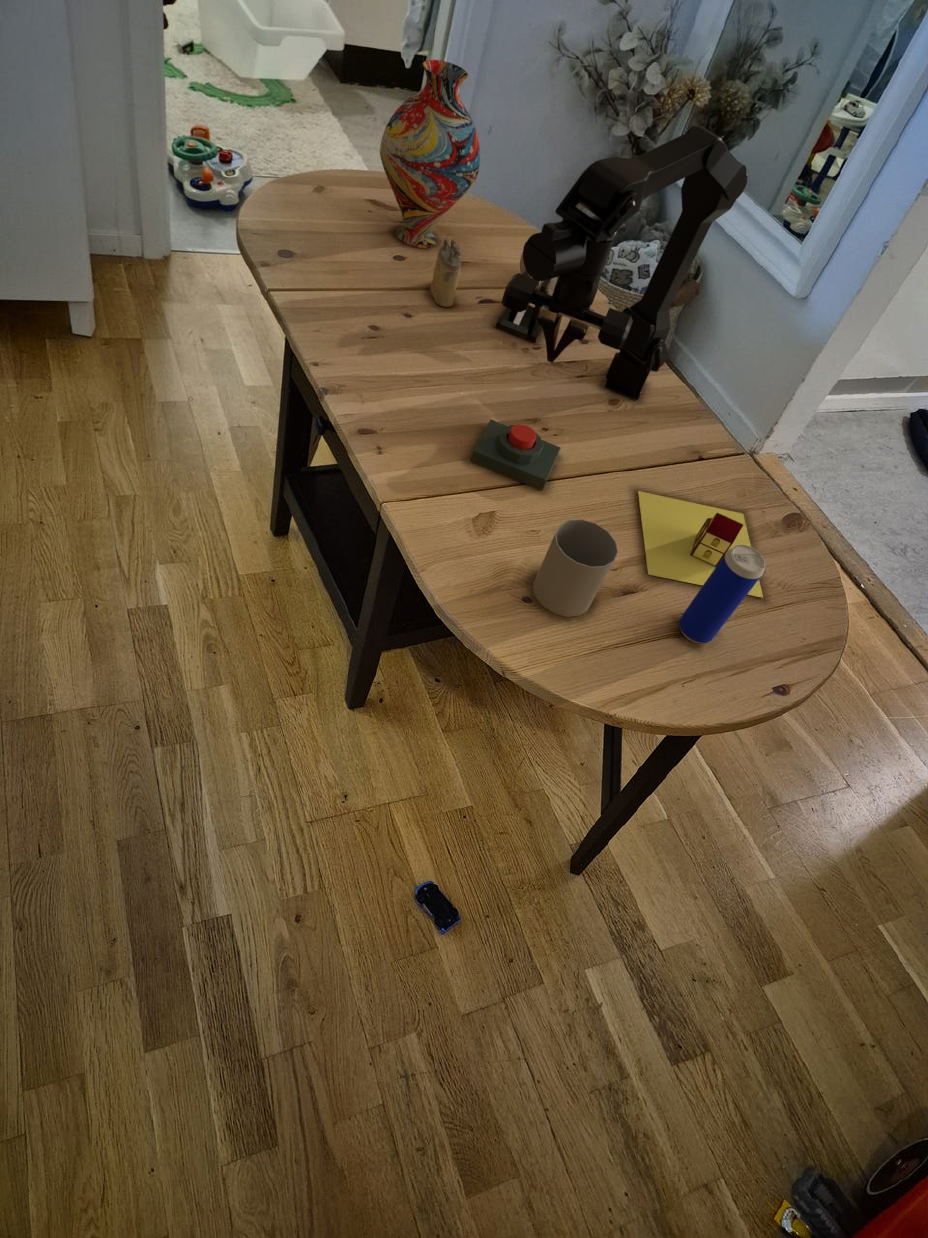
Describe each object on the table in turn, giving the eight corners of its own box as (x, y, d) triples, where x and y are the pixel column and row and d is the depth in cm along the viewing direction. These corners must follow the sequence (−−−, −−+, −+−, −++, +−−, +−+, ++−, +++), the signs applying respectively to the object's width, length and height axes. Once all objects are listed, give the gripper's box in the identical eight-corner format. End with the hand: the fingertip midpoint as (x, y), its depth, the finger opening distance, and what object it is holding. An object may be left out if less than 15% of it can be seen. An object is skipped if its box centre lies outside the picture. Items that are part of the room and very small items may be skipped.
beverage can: (707, 618, 112) (761, 545, 101) (716, 647, 109) (772, 576, 98) (674, 613, 111) (724, 540, 100) (681, 643, 108) (734, 571, 97)
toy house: (691, 563, 119) (716, 525, 112) (685, 532, 123) (709, 493, 117) (727, 571, 119) (754, 533, 113) (720, 539, 124) (746, 501, 117)
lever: (524, 340, 142) (526, 332, 140) (498, 330, 143) (500, 321, 140) (548, 290, 146) (550, 281, 144) (522, 280, 146) (524, 270, 144)
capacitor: (455, 308, 148) (467, 256, 141) (435, 307, 147) (446, 255, 139) (445, 286, 152) (456, 235, 145) (426, 285, 151) (436, 234, 143)
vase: (360, 209, 164) (380, 39, 141) (446, 216, 170) (479, 55, 147) (382, 259, 153) (407, 84, 130) (473, 264, 160) (512, 99, 137)
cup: (543, 618, 105) (567, 568, 98) (524, 571, 110) (546, 520, 102) (600, 613, 108) (627, 565, 100) (579, 568, 113) (604, 518, 105)
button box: (556, 457, 127) (564, 438, 124) (542, 491, 121) (550, 471, 118) (487, 429, 128) (493, 409, 125) (469, 461, 122) (475, 441, 119)
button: (535, 439, 123) (539, 430, 122) (529, 453, 120) (532, 444, 119) (512, 429, 123) (515, 420, 122) (504, 444, 121) (507, 434, 119)
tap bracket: (535, 343, 147) (550, 297, 140) (495, 327, 147) (508, 280, 140) (548, 319, 153) (563, 273, 146) (510, 303, 154) (523, 257, 146)
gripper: (655, 263, 115) (617, 356, 127) (535, 218, 116) (508, 314, 128) (642, 298, 108) (603, 393, 120) (514, 249, 109) (488, 348, 121)
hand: (550, 360), depth 122 cm, fingers closed
